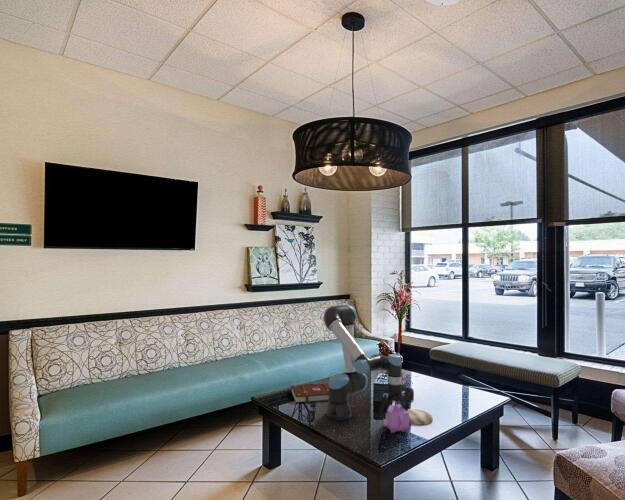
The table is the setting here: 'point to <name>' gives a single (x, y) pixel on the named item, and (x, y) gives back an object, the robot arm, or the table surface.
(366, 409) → the table surface
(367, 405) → the table surface
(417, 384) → the table surface
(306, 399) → the book
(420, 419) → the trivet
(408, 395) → the camera
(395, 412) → the teapot
